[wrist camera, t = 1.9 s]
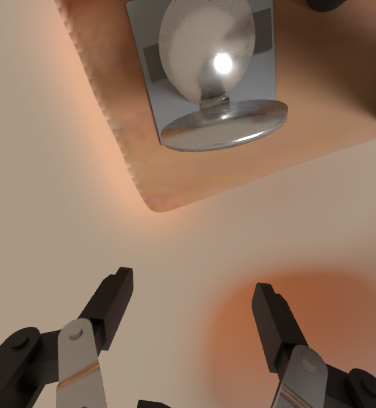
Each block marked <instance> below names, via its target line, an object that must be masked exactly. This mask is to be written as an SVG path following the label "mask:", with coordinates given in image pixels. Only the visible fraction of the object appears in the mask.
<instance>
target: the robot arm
mask: <svg viewBox="0 0 376 408" xmlns="http://www.w3.org/2000/svg"><path fill="white" fill-rule="evenodd" d="M132 292H133V269H132V268H126V267H120V268H119V270H118V271H117V273H116V274H115V275H112V274H111V275H109V276H108V277H106V278H105V279H104V280H103V281H102V283H101V284H100V286H99V288H98V289H97V290H96V292H95V294H94V295H93V296H92V298H91V299H90V301H89V302H88V304H87V305H86V307H85V308H84V310H83V311H82V313H81V314H80V316H79V317H78V318H77V319H76V320H73V321H71V322H70V323H68V324H67V325H66V326H65V327H64V328H63V329H61V330H58V331H53V332H48V333H42V334H40V332H39V330H38V329H37V328H35V327H27V328H23V329H21V330H19V331H17V332H15V333H13V334H12V335H11V336H9V337H8V338H7V339H6V340H5V341H4V342H3V343H2V344H1V346H0V408H32V407H33V405H34V403H35V402H36V400H37V398H38V397H39V395H40V393H41V391H42V390H43V388H44V386H45V385H46V384H49V383H53V382H57V381H59V385H58V386H57V390H56V408H107V403H106V398H105V393H104V387H103V382H102V376H101V371H100V366H99V362H98V356H99V354H100V352H101V350H107V351H108V350H109V347H110V345H111V343H112V340H113V338H114V336H115V333H116V331H117V329H118V326H119V324H120V321H121V319H122V317H123V315H124V312H125V310H126V308H127V305H128V303H129V301H130V298H131V296H132ZM252 311H253V315H254V318H255V322H256V325H257V329H258V332H259V336H260V339H261V343H262V346H263V350H264V354H265V357H266V361H267V364H268V368H269V371H270V372H272V373H277V374H278V377H279V380H280V381H279V383H278V386H277V389H276V392H275V395H274V398H273V401H272V404H271V406H270V408H376V378H375V377H374V376H373V375H371V374H369V373H368V372H366V371H364V370H361V369H357V368H355V369H352V370H351V371H350V372H349V374H348V373H346V372H343V371H341V370H339V369H337V368H334V367H332V366H330V365H328V364H326V363H325V362H324V361H323V359H322V358H321V356H320V355H319V354H318V353H317V352H315V351H314V350H313V349H311V348H310V347H309V346H308V344H307V342H306V340H305V338H304V336H303V334H302V332H301V330H300V328H299V326H298V324H297V322H296V320H295V318H294V316H293V314H292V312H291V311H290V308H289V306H288V304H287V302H286V300H285V299H284V298H283V297H282V296H281V295H280V294H276V293H275V292H274V290H273V288H272V286H271V284H266V283H257V284H256V288H255V291H254V295H253V299H252ZM137 408H171V407H169V406H167V405H165V404H163V403H159V402H152V401H145V400H139V401H138V405H137Z"/></svg>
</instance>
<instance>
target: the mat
mask: <svg viewBox="0 0 376 408" xmlns="http://www.w3.org/2000/svg"><path fill="white" fill-rule="evenodd" d="M246 1H247V3H248V5H249V7H250V10H251V12H252V13H255V12H258V11H261V10H264V9H267V8H270V7H271V22H272V49H271V50H270V51H268V52H264V53H261V54H257V55H253V56H252V58H251V61H250V64H249V66H248V68H247V70H246V72H245V74H244V75H243V77H242V78H241V80H240V81H239V82H238V84H237V85H236V86H235V88H234V89H233V90H232V92H231V93H230V94H229V95H228V97H229V100H230V102H236V101H244V100H257V99H267V100H276V75H275V45H274V15H273V0H246ZM171 2H172V0H133V1H130V2H128V3H125V4H126V8H127V11H128V15H129V19H130V23H131V27H132V31H133V35H134V39H135V43H136V47H137V51H138V55H139V58H140V62H141V66H142V70H143V74H144V78H145V82H146V86H147V90H148V94H149V98H150V102H151V105H152V109H153V113H154V117H155V121H156V125H157V129H158V133H159V137H160V141H161V145H164V144H163V142H162V139H161V135H160V134H161V131H162V129H163V128H164V127H165V126H167V125H168V124H169V123H171V122H173V121H174V120H176V119H178V118H180V117H182V116H185V115H187V114H190V113H192V112H195V111H198V110H200V106H199V105H198V104H194V103H192V102H190V101H189V100H187V99H186V98H185V97H184V96H183V95H182V94H181V93H180V92H179V91H178V90H177V89H176V88H175V86H174V85H173V84H172V83H171V82H170V80H169V79H168V80H165V81H161V82H158V83H154V84H153V83H151V80H150V76H149V72H148V68H147V64H146V60H145V56H144V52H143V48H145V47H148V46H152V45H155V44H158V43H159V33H160V27H161V23H162V20H163V17H164V14H165V12H166V10H167V8H168V6H169V5H170V3H171Z"/></svg>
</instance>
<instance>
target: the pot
mask: <svg viewBox="0 0 376 408" xmlns="http://www.w3.org/2000/svg"><path fill="white" fill-rule="evenodd" d="M271 49H272V22H271V7H270V8H267V9H264V10H261V11H258V12H255V13H252V12H251V10H250V7H249V5H248V3H247V1H246V0H172V2H171V3H170V5H169V6H168V8H167V10H166V12H165V14H164V17H163V20H162V23H161V27H160V33H159V43H158V44H155V45H152V46H148V47H145V48H143V52H144V56H145V60H146V64H147V68H148V72H149V76H150V80H151V83H153V84H154V83H158V82H161V81H165V80H168V79H169V80H170V82H171V83H172V84H173V85H174V86H175V88H176V89H177V90H178V91H179V92H180V93H181V94H182V95H183V96H184V97H185V98H186V99H187V100H189V101H190V102H192V103H194V104H198V105H199V104H202V103H206V102H210V101H214V100H218V99H222V98H226V97H228V95H229V94H230V93H231V92H232V90H233V89H234V88H235V86H236V85H237V84H238V82H239V81H240V80H241V78H242V77H243V75H244V74H245V72H246V70H247V68H248V66H249V64H250V61H251V58H252V56H253V55H257V54H261V53H264V52H268V51H270V50H271Z"/></svg>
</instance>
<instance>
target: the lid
mask: <svg viewBox="0 0 376 408" xmlns="http://www.w3.org/2000/svg"><path fill="white" fill-rule="evenodd" d="M199 106H200V110H198V111H195V112H192V113H190V114H187V115H185V116H182V117H180V118H178V119H176V120H174V121H173V122H171V123H169V124H168V125H167V126H165V127H164V128H163V129H162V131H161V134H160V135H161V139H162V142H163V144H164V146H166V147H167V148H169V149H172V150H175V151H181V152H204V151H213V150H220V149H225V148H230V147H234V146H239V145H242V144H246V143H249V142H252V141H255V140H258V139H260V138H262V137H265V136H267V135H269V134H271V133H273V132H274V131H276V130H277V129H279V128H280V127H281V126H283V125H284V123H285V122H286V120H287V114H288V106H287V105H286V104H285V103H283V102H280V101H276V100H267V99H257V100H244V101H236V102H230V100H229V97H226V98H222V99H218V100H214V101H210V102H206V103H202V104H199Z"/></svg>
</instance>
